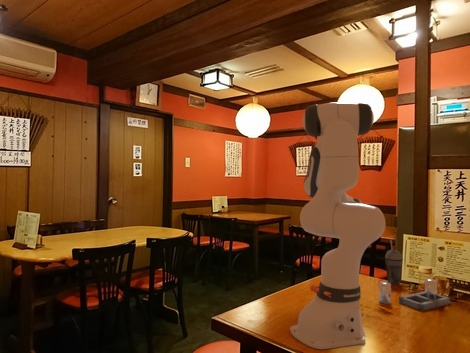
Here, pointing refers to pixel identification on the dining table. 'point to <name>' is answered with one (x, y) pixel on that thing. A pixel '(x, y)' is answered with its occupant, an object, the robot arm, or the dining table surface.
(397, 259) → the beverage cup
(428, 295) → the billet
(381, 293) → the billet
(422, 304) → the grey divided tray
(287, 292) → the dining table surface
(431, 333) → the dining table surface
